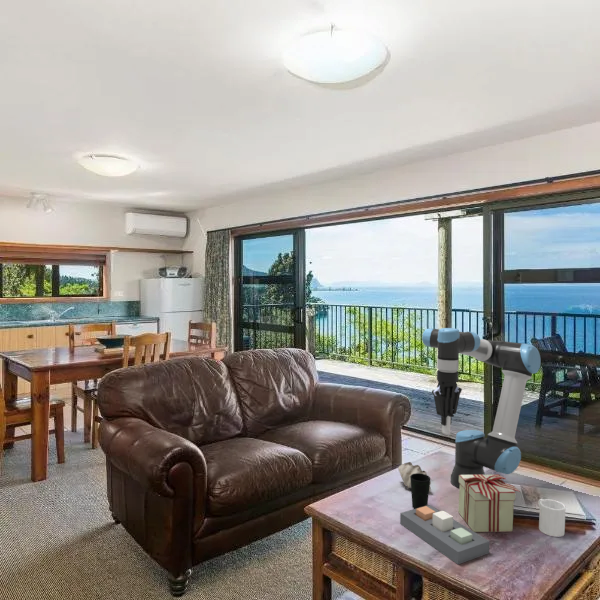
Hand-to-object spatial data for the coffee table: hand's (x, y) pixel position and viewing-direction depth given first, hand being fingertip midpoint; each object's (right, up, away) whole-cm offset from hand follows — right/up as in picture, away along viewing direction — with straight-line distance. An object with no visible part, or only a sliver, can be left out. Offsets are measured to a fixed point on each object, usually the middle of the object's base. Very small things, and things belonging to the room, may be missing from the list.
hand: (446, 433), depth 179 cm
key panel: (-5, -33, -11) cm, 35 cm away
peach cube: (-9, -32, -4) cm, 33 cm away
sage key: (-1, -32, -19) cm, 38 cm away
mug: (+36, -33, -4) cm, 49 cm away
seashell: (-5, -31, +28) cm, 42 cm away
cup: (-7, -32, +10) cm, 34 cm away
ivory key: (-5, -30, -12) cm, 32 cm away
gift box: (+15, -33, -2) cm, 36 cm away
